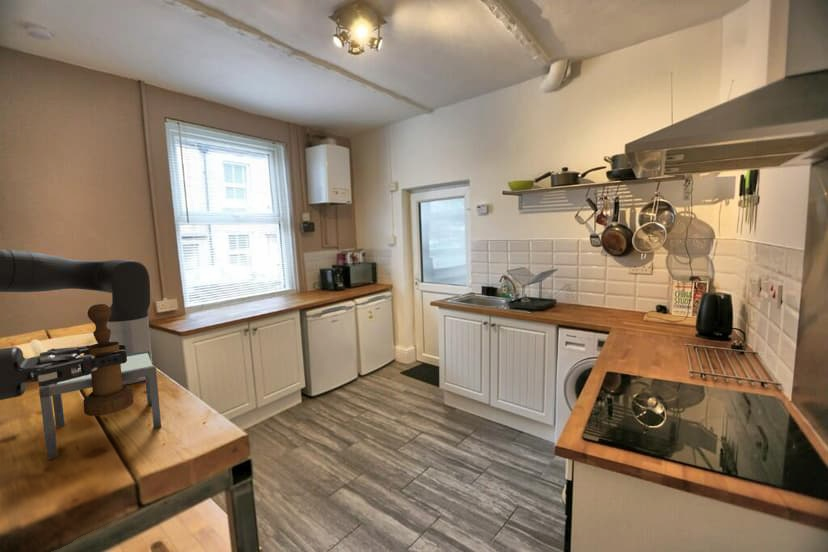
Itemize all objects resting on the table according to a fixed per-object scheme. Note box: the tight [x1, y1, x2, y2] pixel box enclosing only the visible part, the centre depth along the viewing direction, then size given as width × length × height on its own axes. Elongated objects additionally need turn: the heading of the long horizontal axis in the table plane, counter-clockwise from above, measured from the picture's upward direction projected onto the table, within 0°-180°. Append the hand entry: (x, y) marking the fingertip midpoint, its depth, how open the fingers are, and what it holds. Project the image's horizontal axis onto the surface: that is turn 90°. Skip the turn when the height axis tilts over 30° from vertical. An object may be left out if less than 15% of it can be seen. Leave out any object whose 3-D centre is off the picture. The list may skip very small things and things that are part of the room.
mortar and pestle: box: [83, 303, 134, 417], centre depth 61 cm, size 7×6×18 cm
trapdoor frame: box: [38, 350, 162, 461], centre depth 73 cm, size 15×16×13 cm
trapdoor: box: [57, 353, 153, 384], centre depth 73 cm, size 12×14×1 cm
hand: (125, 352), depth 63 cm, fingers closed on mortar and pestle, 4 cm apart
